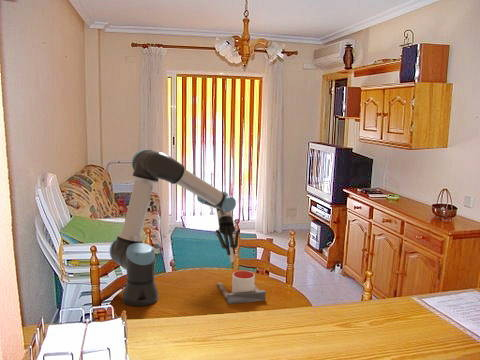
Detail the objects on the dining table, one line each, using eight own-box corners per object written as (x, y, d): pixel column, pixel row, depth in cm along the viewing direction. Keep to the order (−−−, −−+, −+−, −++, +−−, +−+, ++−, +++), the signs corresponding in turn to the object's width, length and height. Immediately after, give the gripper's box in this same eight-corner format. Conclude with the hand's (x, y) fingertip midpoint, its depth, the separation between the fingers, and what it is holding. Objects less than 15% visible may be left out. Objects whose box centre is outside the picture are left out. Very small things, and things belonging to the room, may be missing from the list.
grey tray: (217, 285, 197) (217, 277, 197) (250, 282, 202) (251, 274, 202) (228, 304, 178) (228, 295, 178) (265, 300, 183) (265, 291, 183)
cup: (232, 290, 193) (233, 269, 191) (254, 291, 192) (255, 271, 191) (230, 299, 183) (231, 278, 181) (253, 301, 182) (254, 279, 181)
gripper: (214, 215, 209) (221, 257, 196) (239, 215, 213) (247, 256, 200) (211, 223, 215) (217, 264, 201) (235, 222, 219) (243, 263, 205)
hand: (232, 260), depth 201 cm, fingers closed
